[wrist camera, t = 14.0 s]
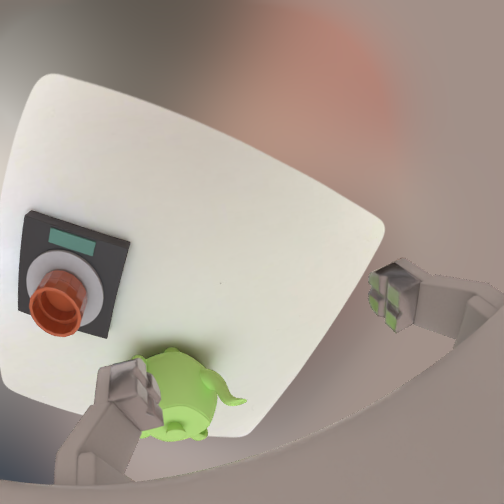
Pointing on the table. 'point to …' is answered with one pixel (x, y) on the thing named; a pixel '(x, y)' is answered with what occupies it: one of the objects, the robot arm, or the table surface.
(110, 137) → the table surface
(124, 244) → the scale
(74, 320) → the orange cup
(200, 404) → the teapot
